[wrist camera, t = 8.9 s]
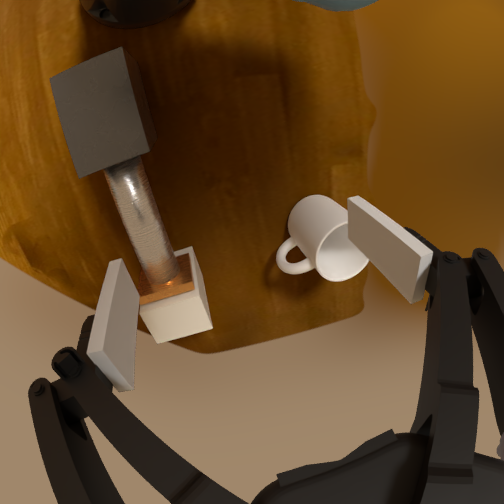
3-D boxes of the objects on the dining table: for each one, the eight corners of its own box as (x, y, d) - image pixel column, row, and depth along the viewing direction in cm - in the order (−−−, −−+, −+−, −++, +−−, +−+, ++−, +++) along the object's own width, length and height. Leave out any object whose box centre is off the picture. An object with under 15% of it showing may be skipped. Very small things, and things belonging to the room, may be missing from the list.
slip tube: (93, 146, 27) (75, 156, 22) (147, 125, 28) (140, 131, 23) (152, 292, 38) (151, 324, 32) (197, 278, 38) (203, 309, 33)
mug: (278, 266, 46) (303, 308, 37) (253, 225, 42) (276, 262, 33) (343, 227, 45) (380, 259, 37) (325, 182, 41) (365, 208, 32)
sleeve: (84, 83, 27) (49, 78, 18) (137, 62, 28) (122, 46, 18) (105, 156, 32) (79, 178, 23) (157, 137, 33) (149, 151, 23)
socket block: (145, 260, 40) (139, 313, 30) (192, 246, 41) (199, 295, 31) (157, 288, 43) (157, 343, 33) (202, 275, 43) (212, 328, 34)
